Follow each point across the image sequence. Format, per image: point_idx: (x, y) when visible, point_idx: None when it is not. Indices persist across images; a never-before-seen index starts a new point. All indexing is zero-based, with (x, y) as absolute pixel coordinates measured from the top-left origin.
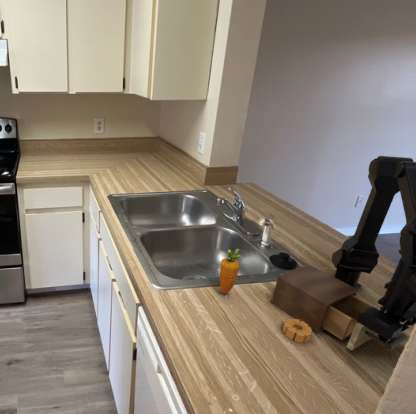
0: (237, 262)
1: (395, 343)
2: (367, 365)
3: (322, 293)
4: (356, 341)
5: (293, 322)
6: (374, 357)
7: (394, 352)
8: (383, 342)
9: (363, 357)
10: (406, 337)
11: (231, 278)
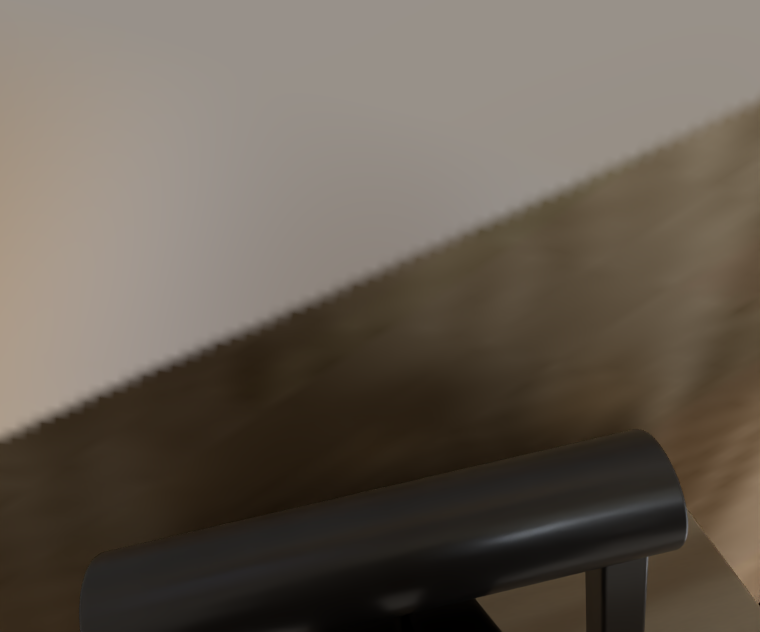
0: None
1: (534, 527)
2: (641, 306)
3: None
4: (725, 581)
5: None
6: (456, 367)
7: (151, 375)
8: (647, 560)
9: (565, 389)
10: (112, 598)
11: None
